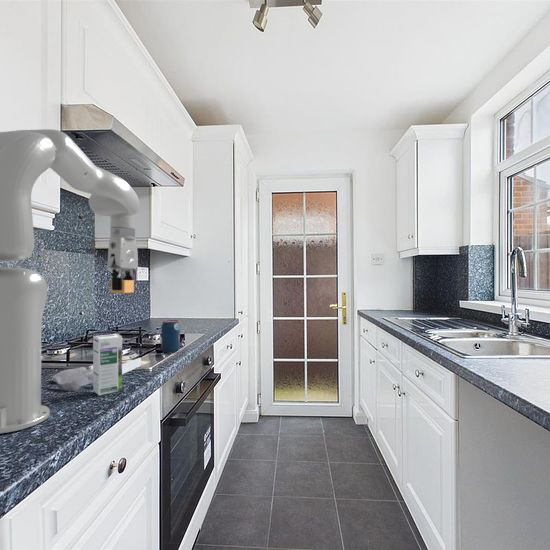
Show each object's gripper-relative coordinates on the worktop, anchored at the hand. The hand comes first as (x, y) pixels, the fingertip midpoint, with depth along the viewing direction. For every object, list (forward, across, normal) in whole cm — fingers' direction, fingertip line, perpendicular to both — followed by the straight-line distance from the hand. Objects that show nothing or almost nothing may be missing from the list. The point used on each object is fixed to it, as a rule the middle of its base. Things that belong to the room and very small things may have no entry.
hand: (122, 289), depth 117 cm
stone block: (+26, -20, 0) cm, 33 cm away
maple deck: (+25, -6, -4) cm, 26 cm away
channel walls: (+25, -8, -4) cm, 27 cm away
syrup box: (+26, -23, -12) cm, 36 cm away
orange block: (+1, 0, 0) cm, 1 cm away
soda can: (+26, +23, -5) cm, 35 cm away
